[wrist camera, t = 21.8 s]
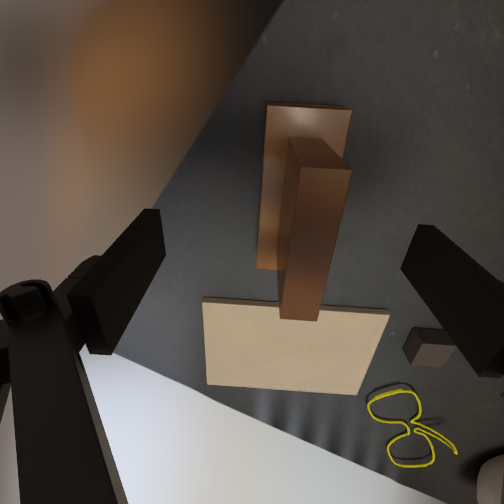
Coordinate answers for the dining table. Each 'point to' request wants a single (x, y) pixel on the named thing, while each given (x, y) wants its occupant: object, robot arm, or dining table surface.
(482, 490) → the vase
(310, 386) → the tile
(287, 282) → the brown stepped block
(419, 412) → the glasses
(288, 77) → the dining table surface
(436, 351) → the dark brown block
